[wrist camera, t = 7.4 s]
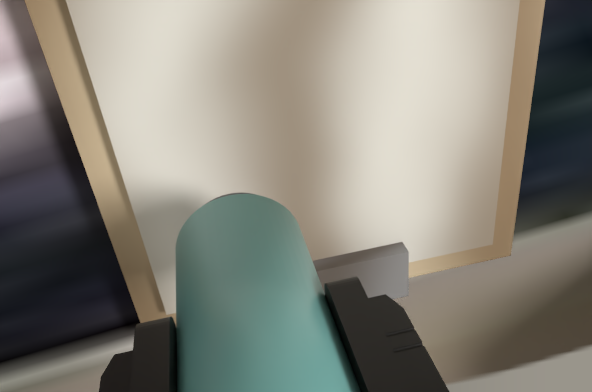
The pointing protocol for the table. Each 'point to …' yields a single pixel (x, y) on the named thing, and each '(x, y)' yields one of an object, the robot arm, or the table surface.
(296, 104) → the clipboard
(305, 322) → the marker
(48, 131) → the table surface
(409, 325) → the robot arm
